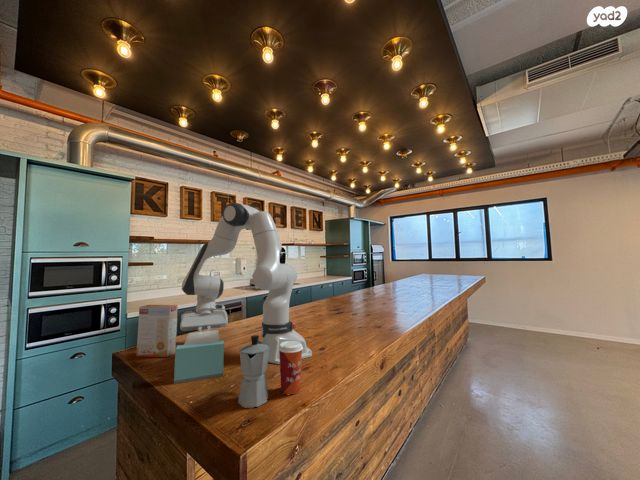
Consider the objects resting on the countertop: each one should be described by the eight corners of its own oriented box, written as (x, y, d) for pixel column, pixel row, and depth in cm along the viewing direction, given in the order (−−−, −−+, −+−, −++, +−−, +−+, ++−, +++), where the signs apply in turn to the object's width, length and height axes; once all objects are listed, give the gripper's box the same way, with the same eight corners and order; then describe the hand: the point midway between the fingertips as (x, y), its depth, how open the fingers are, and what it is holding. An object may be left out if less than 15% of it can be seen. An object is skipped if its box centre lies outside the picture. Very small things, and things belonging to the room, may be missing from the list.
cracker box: (176, 352, 110) (178, 304, 111) (166, 358, 104) (169, 306, 106) (146, 351, 111) (149, 304, 113) (135, 356, 105) (138, 306, 107)
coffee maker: (265, 412, 66) (267, 342, 67) (231, 414, 65) (233, 343, 67) (272, 385, 80) (273, 327, 82) (244, 386, 80) (246, 328, 81)
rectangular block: (220, 342, 123) (221, 320, 124) (223, 375, 87) (224, 343, 88) (186, 346, 117) (187, 323, 118) (173, 383, 81) (175, 349, 82)
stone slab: (218, 339, 113) (218, 330, 113) (218, 355, 92) (219, 344, 93) (188, 342, 108) (188, 332, 108) (182, 360, 88) (182, 349, 88)
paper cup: (292, 400, 72) (292, 349, 73) (272, 392, 76) (273, 345, 77) (308, 388, 78) (308, 342, 79) (288, 382, 82) (289, 338, 83)
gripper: (181, 308, 116) (177, 335, 106) (227, 305, 124) (228, 330, 114) (182, 316, 120) (178, 343, 110) (227, 312, 128) (227, 337, 118)
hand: (204, 336), depth 112 cm, fingers closed
